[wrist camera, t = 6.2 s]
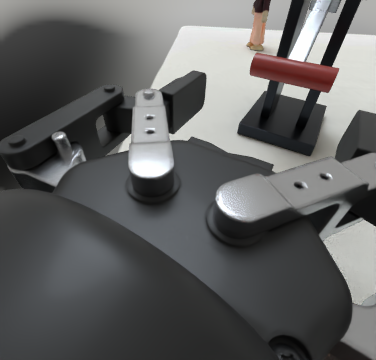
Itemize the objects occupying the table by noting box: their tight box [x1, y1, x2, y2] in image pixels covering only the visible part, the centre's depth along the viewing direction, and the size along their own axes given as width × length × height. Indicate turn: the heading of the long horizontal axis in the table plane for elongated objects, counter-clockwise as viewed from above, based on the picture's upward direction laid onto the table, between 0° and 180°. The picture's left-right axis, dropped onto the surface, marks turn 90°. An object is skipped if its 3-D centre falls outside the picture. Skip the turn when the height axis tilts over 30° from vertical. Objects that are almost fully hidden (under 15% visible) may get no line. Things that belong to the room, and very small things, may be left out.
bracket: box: [237, 0, 361, 156], centre depth 23 cm, size 10×8×15 cm
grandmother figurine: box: [247, 0, 271, 51], centre depth 47 cm, size 8×4×13 cm, turn 17°
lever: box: [250, 0, 341, 93], centre depth 18 cm, size 12×6×2 cm, turn 150°
